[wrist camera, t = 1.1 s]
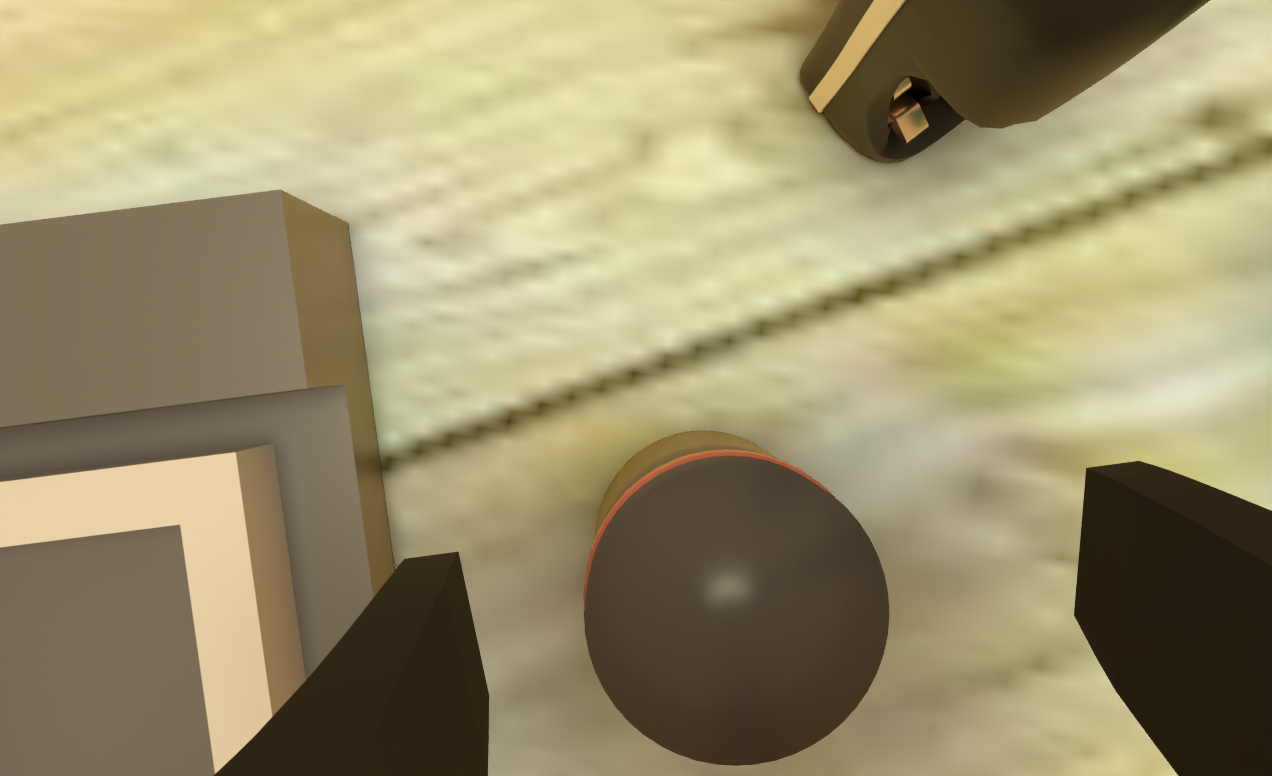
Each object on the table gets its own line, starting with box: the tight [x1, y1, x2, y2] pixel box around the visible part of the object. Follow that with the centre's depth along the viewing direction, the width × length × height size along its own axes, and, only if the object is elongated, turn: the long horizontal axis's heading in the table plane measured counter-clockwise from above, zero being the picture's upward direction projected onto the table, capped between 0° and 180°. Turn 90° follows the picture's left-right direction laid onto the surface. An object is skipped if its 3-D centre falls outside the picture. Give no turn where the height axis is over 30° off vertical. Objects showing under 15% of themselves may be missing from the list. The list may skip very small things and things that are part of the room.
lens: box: [584, 431, 889, 766], centre depth 19 cm, size 5×5×7 cm
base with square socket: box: [0, 190, 395, 776], centre depth 20 cm, size 18×12×4 cm, turn 7°
